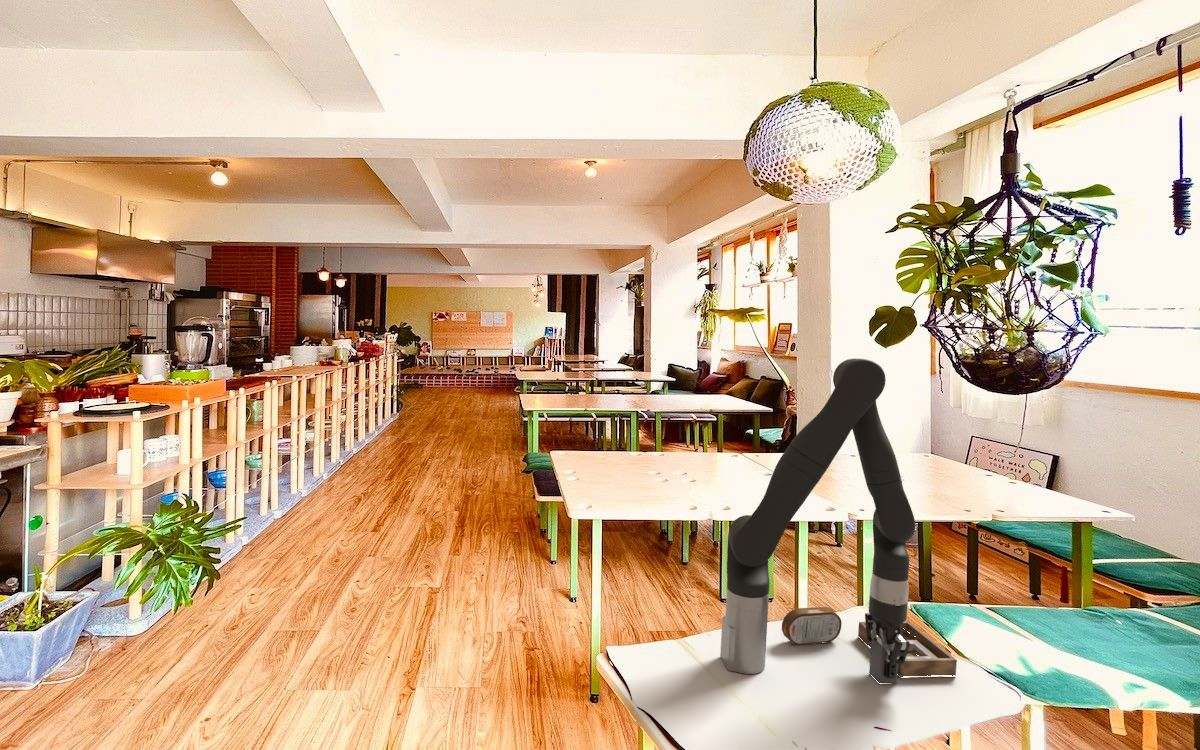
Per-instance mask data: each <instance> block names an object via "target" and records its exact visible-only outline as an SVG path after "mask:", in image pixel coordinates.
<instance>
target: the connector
mask: <svg viewBox="0 0 1200 750" xmlns="http://www.w3.org/2000/svg"><path fill="white" fill-rule="evenodd" d="M887 646H894V644H887ZM891 655H892V651H890V656H891ZM884 665H885V650H884V649H883V648H882V640H881V639H880V638H879V637H877V640H873V639H872V641H871V650H870V659H869V673H870V674H871V675H872V676H873V677H874V678H875V679H876V680H877V681H878V682H879V683H897V684H898V676H897V672H898V664H896V676H895V678H890V679H887V678H886V677H885V676H884ZM869 673H868V674H869ZM870 674H869V675H870ZM871 675H870V676H871ZM872 676H871V677H872Z"/></svg>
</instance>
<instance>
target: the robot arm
mask: <svg viewBox="0 0 1200 750" xmlns="http://www.w3.org/2000/svg"><path fill="white" fill-rule="evenodd" d="M832 383H833V386H834V389H833V391H832V393H831V395H830V396H829V398H828V399H827V402H826V403H825V404H824V406H823V408H821V410H820V411H819V412H818V414H816V415H815V417H814V418H813V419H811V420H810V421H809V422H808V423H807V424H806V425H805V426H804V427H802V429H801V430H800V431H799V432H798V433H797V434H796V435H795V436H794V438H793V439H792V440H791V441H790V443H789V445H788V446H787V447H786V449H785V450H784V452H783V454H782V455H781V457H780V458H779V460H778V461H777V463H776V466H775V467H774V469H773V472H772V475H771V478H770V480H769V483H768V485H767V487H766V490H765V494H764V495H763V498H762V499H761V501H760V503H759V504H758V506H757V507H756V509H755V510H754V511H753V512H752V513H751V515H748V514H745V515H741V516H739V517H737V518H736V519H735V520H734V521H732V523H731V525H730V526H729V529H728V534H727V547H726V548H727V551H726V552H727V553H726V555H727V556H726V596H725V598H726V599H725V613H724V614H725V615H724V616H722V617H721V619H722V620H721V633H720V634H721V635H720V636H721V638H720V652H719V653H720V659H721V660H722V662H723V664H724V666H725V667H726V669H727V671H728V672H729V671H730V672H731V671H733V672H737V673H740V674H744V675H755V674H759V673H762V672H763V671H764V670H765V667H766V659H767V658H766V650H767V634H768V617H769V599H770V585H771V584H770V583H771V582H770V576H769V559H771V557H772V555H773V554H774V552H775V550H776V548H777V546H778V545H779V543H780V541H781V539H782V537H783V535H784V533H785V531H786V529H787V527H788V526H789V524H790V522H791V521H792V519H793V517H794V516H795V515H796V514H797V512H798V511H799V510H800V508H801V507H802V505H804V503H805V501H806V500H807V498H808V497H809V495H810V494H811V493H812V491H813V490H814V489H815V487H816V486H817V484H819V482H820V480H821V479H822V477H824V474H825V473H826V472H827V469H828V468H829V467H830V465H831V464H832V462H833V460H834V459H835V458H836V456H837V454H838V453H839V451H840V450H841V448H842V446H843V444H845V442H846V440H847V438H848V437H849V435H850V433H851V431H852V432H853V436H854V439H855V443H856V448H857V451H858V456H859V459H860V463H861V467H862V472H863V475H864V479H865V483H866V484H865V485H866V487H867V490H868V492H869V494H870V495H871V498H872V499H873V503H874V507H875V510H874V512H873V517H872V534H873V535H872V536H873V537H872V538H873V539H872V540H873V548H874V549H873V550H874V552H873V560H872V574H871V578H870V584H869V586H870V587H869V598H868V599H869V600H868V612H865V614H864V619H865V621H864V622H866V633H867V640H868V641H870V642H871V641H872V639H873V640H877V637H879V638H880V639H881V640H882V648H883V649H884V650H885V665H884V676H885V677H886V678H887V679H890V678H895V676H896V664H904V662H905V659H906V656H907V652H908V649H909V646H910V643H909V641H908V640H904V639H903V638H902V636H901V634H902V632H901V624H902V623H903V622H905V621H907V619H908V618H907V616H908V605H909V603H908V602H909V592H910V591H909V588H910V587H909V573H910V556H909V553H908V551H907V541H909V540H911V538H912V537H913V535H914V534H915V532H916V521H915V517H914V516H915V515H914V513H913V510H912V507H911V505H910V501H909V499H908V497H907V494H906V492H905V489H904V485H903V480H902V476H901V473H900V469H899V465H898V460H897V457H896V454H895V451H894V449H893V447H892V444H891V441H890V439H889V437H888V436H887V433H886V431H885V428H884V426H883V423H882V420H881V417H880V414H879V411H878V407H877V406H878V405H877V399H879V397H880V396H881V394H882V393H883V392H884V388H885V386H886V374H885V371H884V368H883V367H882V366H881V365H880V364H878V363H877V362H876V361H874V360H871V359H867V358H866V359H865V358H849V359H845V360H843V361H842V362H840V363H839V364H838V365H837V366H836V368H835V370H834V371H833V376H832ZM871 630H872V634H871ZM887 644H894V646H887ZM890 651H892V655H891V656H890ZM899 656H900V657H899Z"/></svg>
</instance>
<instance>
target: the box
mask: <svg viewBox="0 0 1200 750" xmlns="http://www.w3.org/2000/svg"><path fill="white" fill-rule="evenodd" d="M903 628H904V629H905V630H904V629H903ZM857 629H858V631H857V637H858V636H859V637H860V638H861V639H862V640H863V641H864V642H865V643H866V644H867V645H869V646H870V647H871V642H870V641H868V640H867V633H866V622H865V621H859V622H858V628H857ZM907 631H908V632H910V634H909V633H908V632H907ZM901 632H902V634H901V636H902V638H903V639H904V640H908V641H909V643H910V646H909V649H908V652H907V656H906V659H905V662H904V664H898V672H897V674H898V675H899V676H900V677H903V676H927V675H928V676H931V675H952V676H953V675H955V676H956V674H957V666H958V665H957V664H958V663H957V661H958V660H957V659H956V658H955V657H954V656H953V655H952V654H950V653H949V652H947V651H946V650H945V649H944V648H943V647H941V646H940V645H939V644H937V643H936V642H935V641H933V640H932V639H931V638H930V637H929V636H927V635H926V634H925V633H924V632H923V631H921V630H920V629H919V628H918V627H916V626H915V625H914V624H912V623H911V622H910V621H907V620H906V621H905V622H903V623H902V624H901ZM871 634H872V630H871ZM914 636H916V637H914ZM916 654H917V655H919V656H917V655H916ZM899 657H900V656H899ZM956 677H957V676H956Z"/></svg>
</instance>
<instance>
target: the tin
mask: <svg viewBox="0 0 1200 750" xmlns="http://www.w3.org/2000/svg"><path fill="white" fill-rule="evenodd" d="M842 624H843V623H842V619H841V617H840V616H839V614H838V613H836V611H834V610H833V609H832V608H830V607H828V606H819V607H817V606H816V607H814V606H813V607H801V608H800V607H799V608H794V609H791V610H790V611H789V612H788V613H786V615H784V618H783V620H782V622H781V631H782V634H783V636H784V637H785V638H786V639H787V640H789V642H790V643H792V644H794V645H798V646H802V645H801V644H806V645H814V644H813V643H819V644H823V643H822V642H829V643H831V642H833V641H835V640H836V639H837V638H838V636H839V635H840V633H841V630H842Z"/></svg>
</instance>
